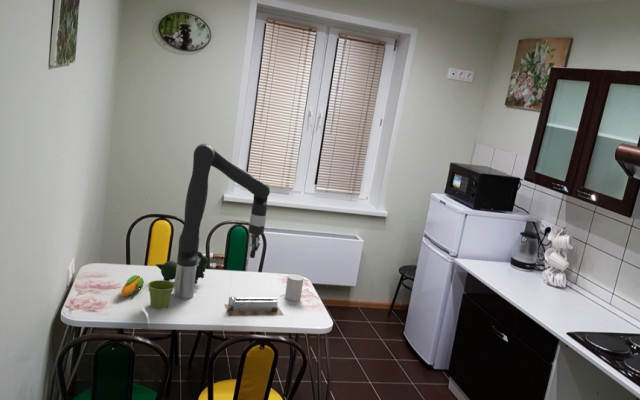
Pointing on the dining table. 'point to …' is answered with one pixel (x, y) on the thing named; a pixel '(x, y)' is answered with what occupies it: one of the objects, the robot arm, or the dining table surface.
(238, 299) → the tongs swing arm
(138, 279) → the corn
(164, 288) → the plant pot
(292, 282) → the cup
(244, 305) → the arm
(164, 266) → the toy figurine
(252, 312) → the walnut board
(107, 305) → the dining table surface
